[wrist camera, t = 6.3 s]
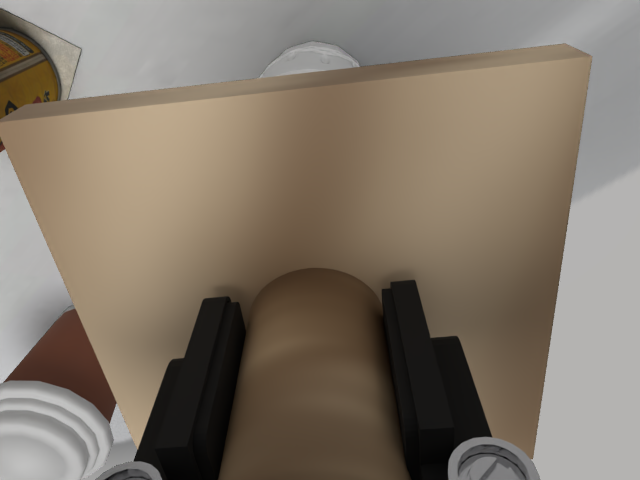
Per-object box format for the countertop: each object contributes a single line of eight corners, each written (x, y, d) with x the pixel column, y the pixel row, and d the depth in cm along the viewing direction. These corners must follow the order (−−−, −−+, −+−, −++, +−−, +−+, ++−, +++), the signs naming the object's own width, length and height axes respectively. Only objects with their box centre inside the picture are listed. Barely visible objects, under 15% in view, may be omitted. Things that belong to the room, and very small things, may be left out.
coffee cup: (24, 343, 43) (-70, 473, 33) (64, 268, 39) (-30, 388, 29) (127, 389, 46) (69, 522, 36) (173, 322, 42) (123, 450, 32)
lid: (565, 43, 10) (829, 166, 5) (519, 424, 16) (619, 676, 10) (25, 105, 11) (-262, 272, 6) (163, 449, 16) (87, 699, 11)
